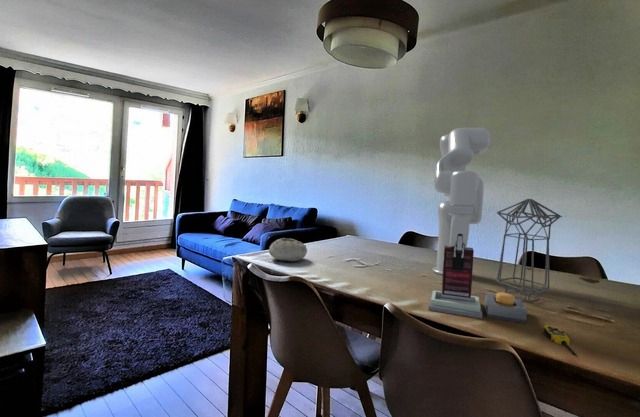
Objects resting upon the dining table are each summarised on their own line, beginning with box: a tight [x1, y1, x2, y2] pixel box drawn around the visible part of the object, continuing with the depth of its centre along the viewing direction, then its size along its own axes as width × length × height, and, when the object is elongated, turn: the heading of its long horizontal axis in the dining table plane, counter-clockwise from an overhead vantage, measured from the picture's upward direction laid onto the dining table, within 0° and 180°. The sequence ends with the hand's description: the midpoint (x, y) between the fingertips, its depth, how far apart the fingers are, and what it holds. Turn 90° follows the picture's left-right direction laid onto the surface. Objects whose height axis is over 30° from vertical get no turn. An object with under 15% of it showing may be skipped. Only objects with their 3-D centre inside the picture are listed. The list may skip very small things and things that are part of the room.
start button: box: [495, 292, 516, 306], centre depth 104 cm, size 5×5×3 cm
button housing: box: [484, 293, 528, 324], centre depth 104 cm, size 10×10×4 cm
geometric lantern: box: [496, 198, 563, 303], centre depth 121 cm, size 16×16×35 cm
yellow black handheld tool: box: [543, 324, 576, 356], centre depth 87 cm, size 5×2×15 cm
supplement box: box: [441, 245, 475, 300], centre depth 109 cm, size 9×5×16 cm, turn 71°
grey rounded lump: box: [268, 237, 308, 262], centre depth 163 cm, size 18×18×10 cm
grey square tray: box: [428, 289, 483, 320], centre depth 109 cm, size 14×15×3 cm
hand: (457, 267), depth 108 cm, fingers closed on supplement box, 4 cm apart
